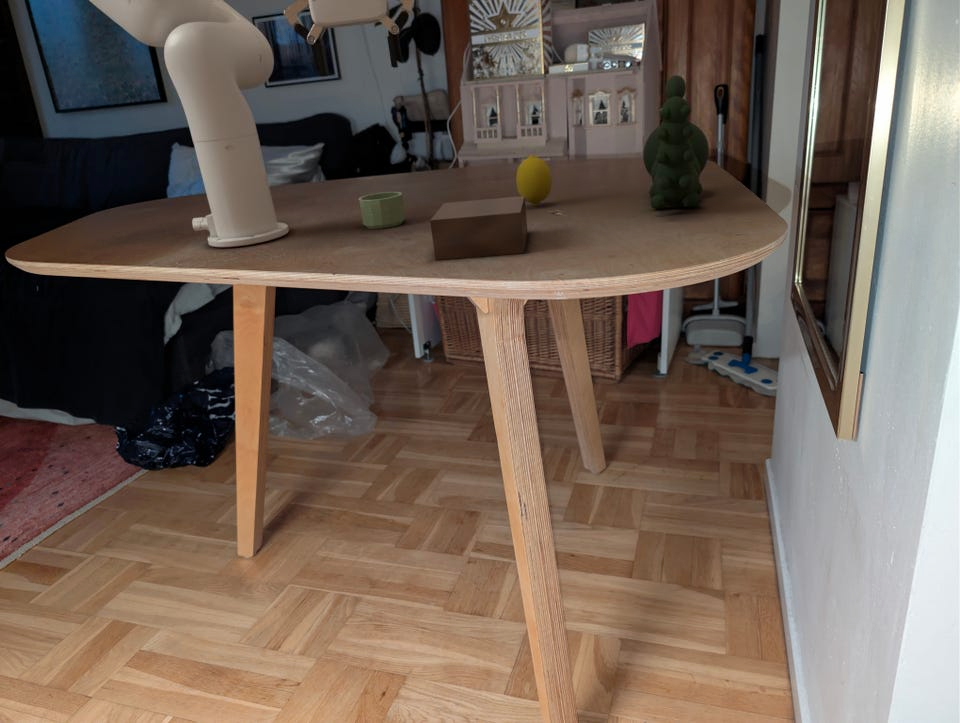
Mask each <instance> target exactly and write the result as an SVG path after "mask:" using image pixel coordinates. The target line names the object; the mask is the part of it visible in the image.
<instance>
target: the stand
mask: <svg viewBox="0 0 960 723" xmlns="http://www.w3.org/2000/svg"><path fill="white" fill-rule="evenodd" d="M526 206H527V205H526V201H525V196H508V197H499V198H498V197H497V198H496V197H495V198H487V199H476V200H475V199H474V200H463V201H453V202H452V201H451V202H444V203H443V204H442V205H441V206H440V207H439V208H438V209H437V211H436V212H435V214H434V215H433V216H432V217H431V219H429V224H430V228H431V229H430V231H431V238H432V246H433V252H434V253H433V254H434V260H435V261H442V260H456V259H467V258H480V257H482V258H483V257H491V256H507V255H519V254H520V255H521V254H524V253H525V248H526V244H527V237H528V219H527V208H526Z"/></svg>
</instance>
